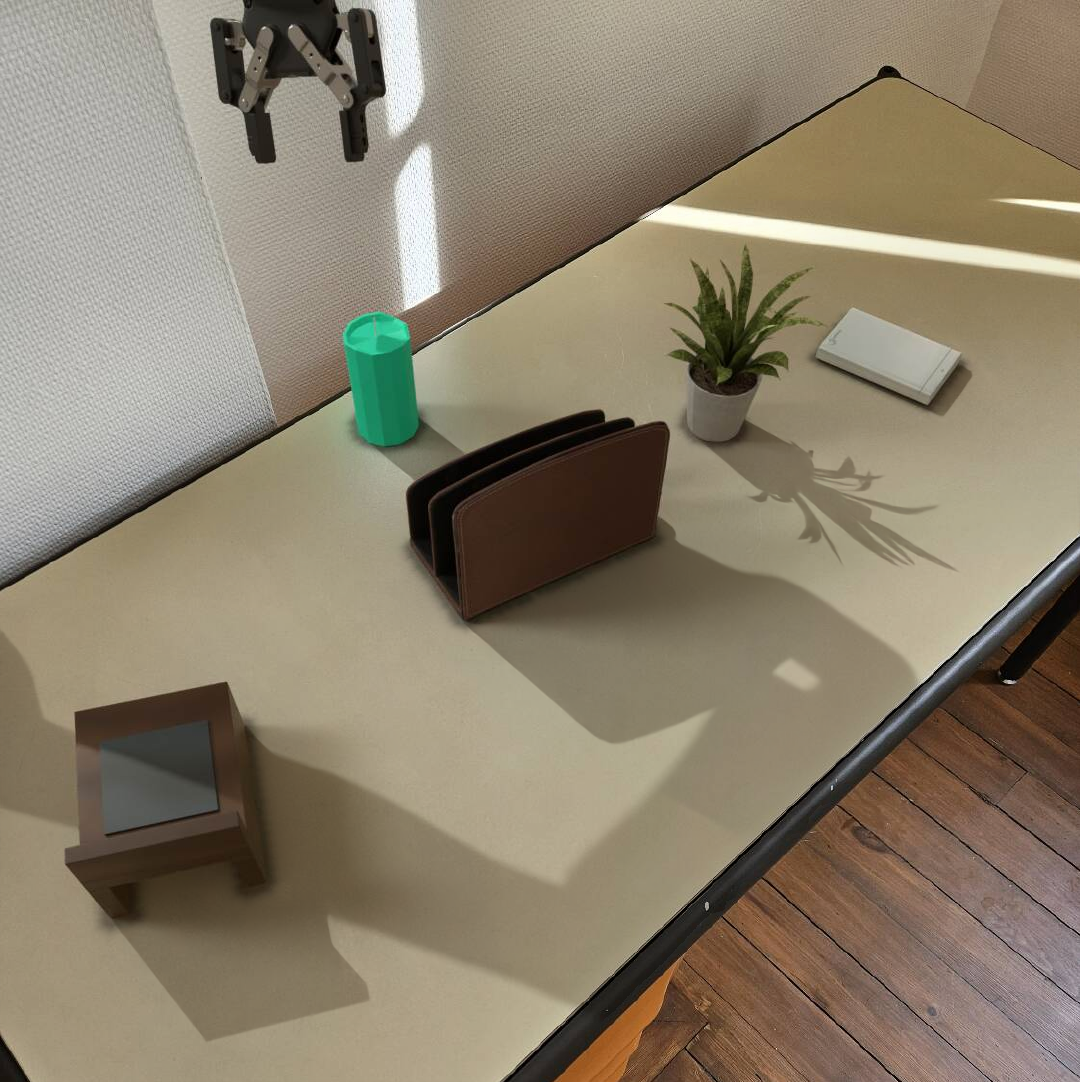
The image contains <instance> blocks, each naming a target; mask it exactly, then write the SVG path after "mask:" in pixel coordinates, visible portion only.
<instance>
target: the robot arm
mask: <svg viewBox="0 0 1080 1082" xmlns="http://www.w3.org/2000/svg"><path fill="white" fill-rule="evenodd" d="M242 3H243V7H244V8H243V16H242V20H237V19H235V18H228V17H227V18H226V17H212V18H211V20H210V23H209V28H210V29H209V30H210V36H211V44H212V45H211V46H212V53H213V61H214V68H215V77H216V86H217V94H218V98H219V101H220V102H221V103H222V104H224V105H229V106H232V107H235V108H237V109H239V110H240V111H241V113H242V116H243V119H244V126H245V132H246V138H247V144H248V150H249V152H250V155H251V156H252V157H254V159H255V162H256V163H257V164H258V165H268V164H275V163H276V162H277V161H276V160H277V152H276V146H275V140H274V139H275V138H274V133H273V126H272V125H273V124H272V119H271V113H270V112H266V110H267V108H268V105H269V103H270V100H271V98H272V96H273V93H274V91H275V90H276V88H278V87H279V86H280V84H281V82H282V80H283V79H297V78H299V77H300V78H316V77H318V79H319V80H320V82H322V84H323V85H325V86H327V87H328V89H329V90H330V91H331V92H332V94H333V95H334V97H335V99H336V100H337V101H338V103H339V104H340V106H342V109H343V110H338V115H339V125H340V130H341V141H342V149H343V156H344V160H345V162H347V163H359V162H363V161H364V160H365V155H366V154H368V152H369V147H370V146H369V145H370V144H369V135H368V126H367V117H366V108H367V106H368V104H370V103H371V102H374V101H376V100H377V99H382V98H384V97H385V96H386V93H387V85H386V78H385V71H384V65H383V64H384V63H383V58H382V50H381V43H380V36H379V31H378V23H377V16H376V13H375V12H374V10H372V9H369V8H368V9H367V8H363V7H362V8H361V7H352V8H350V9H349V10H348V11H345V12H340V10H339V9H338V6H337V2H336V0H242ZM343 33H344V36H345V39H346V40H347V42H348V43H350V44H351V50H352V56H353V63H354V70H355V76H356V77H354V74H353V70H352V68H351V67H350V65H349V63H348V62H347V61H346V60H345V58H344V57H343V55H342V54H341V52H340V51H339V49H338V47H337V46H338V44H339V41H340V39H341V37H342V34H343ZM247 42H248V43H249V45H250V46H251V48H252V49H253V53H252V56H251V58H250V60H249V64H248V65H247V68H246V69H245V60H244V59H245V58H244V51H243V50H244V49H245V46H246V44H247Z"/></svg>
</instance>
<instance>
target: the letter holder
mask: <svg viewBox="0 0 1080 1082" xmlns="http://www.w3.org/2000/svg"><path fill="white" fill-rule="evenodd" d="M670 438H671V430H670V427H669V426H668V424H667V423H666V422H665V421H664V420H655V421H650V422H647V423H644V424H640V425H636V422H635V420H634V419H633V418H632V417H629V416H626V417H620V418H615V419H611V420H608V421H606V414H605V411H604V410H602V409H600V408H595V409H588V410H583V411H579V412H576V413H572V414H569V415H566V416H563V417H559V418H557V419H554V420H550V421H548V422H544V423H541V424H540V425H536V426H533V427H531V428H527V429H525V430H521V431H519V432H517V433H514V434H512V435H509V436H505V437H504V438H501V439H499V440H496V441H494V442H491V443H489V444H487V445H484V446H482V447H479V448H476V449H474V450H473V451H470V452H468V453H465V454H464V455H461V456H459V457H457V458H455V459H453V460H450V461H448V462H446V463H444V464H442V465H440V466H438V467H436V468H435V469H433V470H431V471H429V472H427V473H425V474H424V475H422V476H420V477H419V478H417V479H416V480H414V481H412V483H410V484H409V486H408V487H407V488H406V491H405V501H406V510H407V521H408V529H409V530H408V531H409V545H410V547H411V548H412V549H413V551H414V553H415V554H416V556H417V557H418V559H419V560H420V561H421V562H422V564H423V565H424V567H425V568H426V570H427V572H428V573H429V574H430V576H431V577H432V579H433V580H434V581H435V583H436V585H438V587H439V588H440V590H441V591H442V593H443V594H444V595H445V597H446V599H447V600H448V602H449V603H450V605H451V606H452V608H453V609H454V610H455V611H456V613H457V614H458V616H459V617H460V619H462V620H464V621H467V620H469V619H471V618H474V617H476V616H478V615H480V614H483V613H484V612H487V611H489V610H491V609H493V608H495V607H497V606H499V605H501V604H504V603H507V602H509V601H511V600H513V599H515V598H517V597H520V596H522V595H524V594H527V593H529V592H531V591H533V590H536V589H538V588H540V587H543V586H546V585H547V584H549V583H552V582H555V581H556V580H559V579H560V578H564V577H566V576H569V575H570V574H572V573H574V572H578V571H579V570H582V569H584V568H586V567H588V566H591V565H593V564H595V563H597V562H599V561H602V560H603V559H607V558H609V557H611V556H614V555H615V554H618V553H621V552H622V551H625V550H626V549H629V548H631V547H633V546H636V545H638V544H640V543H643V542H645V541H647V540H650V539H652V538H654V537H656V534H657V525H658V517H659V511H660V505H661V498H662V494H663V492H662V491H663V485H664V479H665V474H666V468H667V467H666V466H667V460H668V452H669V446H670Z"/></svg>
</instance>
